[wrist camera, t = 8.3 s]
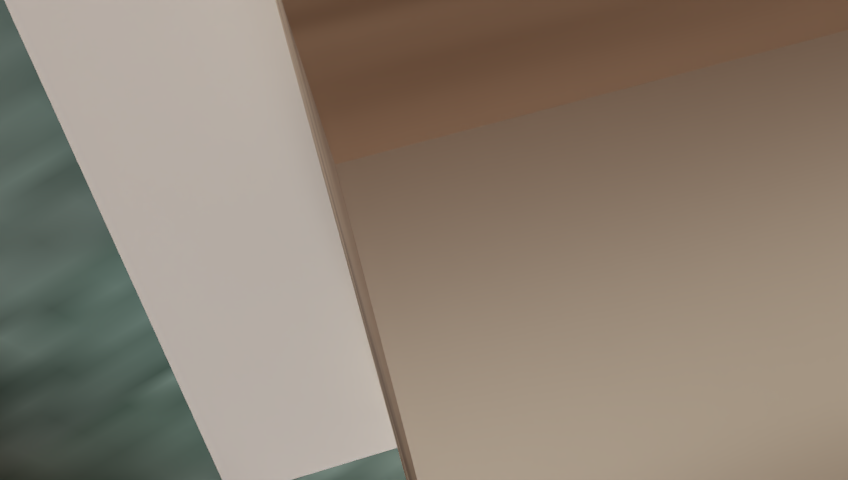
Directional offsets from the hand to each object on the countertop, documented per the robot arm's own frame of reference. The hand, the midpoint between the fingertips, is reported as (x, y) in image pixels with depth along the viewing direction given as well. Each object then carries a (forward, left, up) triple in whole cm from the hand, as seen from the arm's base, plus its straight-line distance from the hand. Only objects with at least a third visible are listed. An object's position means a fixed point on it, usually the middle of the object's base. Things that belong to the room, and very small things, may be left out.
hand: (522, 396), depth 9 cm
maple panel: (0, 0, -6) cm, 6 cm away
